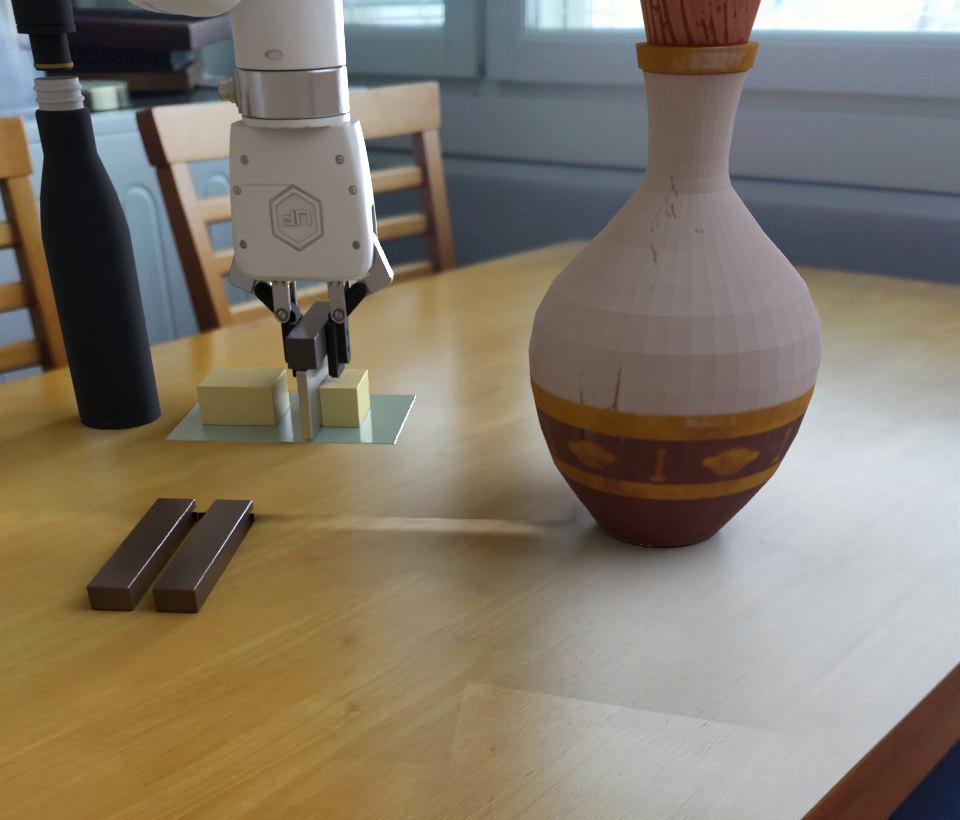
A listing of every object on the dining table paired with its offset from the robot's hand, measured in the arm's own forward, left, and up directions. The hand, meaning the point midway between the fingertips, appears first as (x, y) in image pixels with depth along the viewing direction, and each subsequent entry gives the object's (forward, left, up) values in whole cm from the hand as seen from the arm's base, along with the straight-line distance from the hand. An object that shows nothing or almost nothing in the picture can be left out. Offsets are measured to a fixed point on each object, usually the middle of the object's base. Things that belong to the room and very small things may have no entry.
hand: (319, 370), depth 95 cm
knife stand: (-4, -26, -5) cm, 27 cm away
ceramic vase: (+27, -17, -5) cm, 32 cm away
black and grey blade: (0, 0, -3) cm, 3 cm away
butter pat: (+2, 0, -4) cm, 4 cm away
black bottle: (-16, -1, -5) cm, 17 cm away
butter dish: (-2, 0, -5) cm, 5 cm away
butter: (-6, 0, -4) cm, 7 cm away
